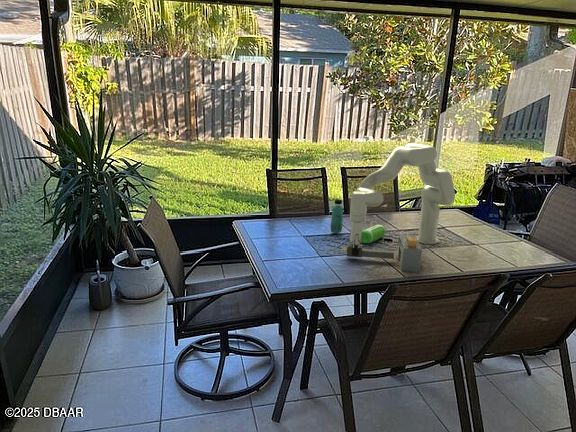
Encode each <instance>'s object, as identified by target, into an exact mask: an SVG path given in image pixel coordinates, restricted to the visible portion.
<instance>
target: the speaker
mask: <svg viewBox="0 0 576 432" xmlns="http://www.w3.org/2000/svg"><path fill="white" fill-rule="evenodd" d="M386 232H387V231H386V228H385V226H384V225H382V224H375V225H373V226H370V227H369V228H366V229H364V230H362V237H361V243H364V244H370V243H373V242H376V241H377V240H379V239H381V238H383V237H384V236H385V235H386Z"/></svg>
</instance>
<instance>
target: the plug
mask: <svg viewBox="0 0 576 432" xmlns="http://www.w3.org/2000/svg"><path fill="white" fill-rule="evenodd" d="M346 246H347V247H342V252H346V257H348V258H349V257H350V258H377V259H388V260H394V257H395V251H394V250H386V249H371V248H363V244H362V243H359V256H352V247H353V242H351V243H350V242H347V244H346Z"/></svg>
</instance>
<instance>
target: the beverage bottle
mask: <svg viewBox="0 0 576 432" xmlns="http://www.w3.org/2000/svg"><path fill="white" fill-rule="evenodd" d="M334 204H335V205H333V206H332V208H331V219H330V220H331V221H330V232H331V233H333V234H340V233H342V232H343V217H344V207H343V205H342V204H343V201H342V199H340V198H339V199H338V198H337V199H334Z"/></svg>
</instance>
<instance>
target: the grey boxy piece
mask: <svg viewBox="0 0 576 432" xmlns="http://www.w3.org/2000/svg"><path fill="white" fill-rule="evenodd" d="M416 236H417V235H415V234H414V235H411V234H398V239H397V246H396V247H397V249H396V258H397V260H398V261H399V260H400V261H399V269H400V271H401V272H409V273H420V270H421V269H420V268H421V262H422V261H421V260H422V252H423V249H422V247H421V244H420V242H418V240H417V238H416Z"/></svg>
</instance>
